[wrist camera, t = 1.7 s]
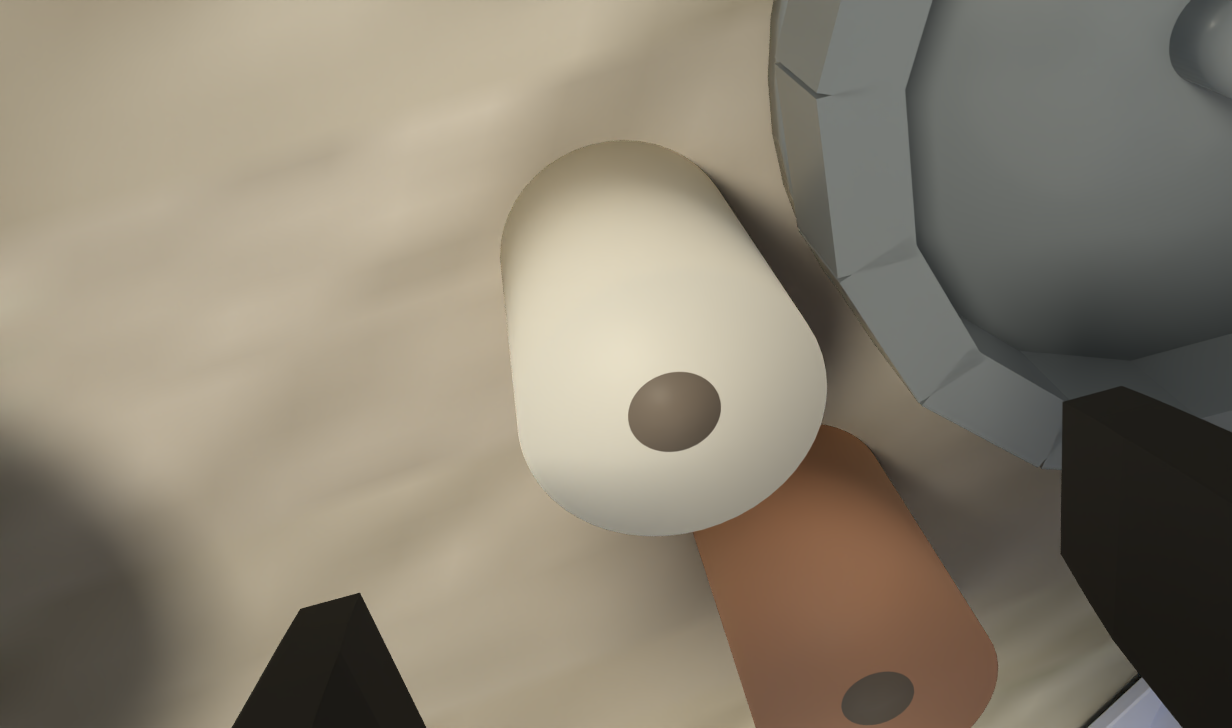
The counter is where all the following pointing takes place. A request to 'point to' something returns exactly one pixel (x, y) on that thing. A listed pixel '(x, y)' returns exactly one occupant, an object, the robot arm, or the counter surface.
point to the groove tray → (1019, 197)
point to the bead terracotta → (845, 604)
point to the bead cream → (651, 345)
